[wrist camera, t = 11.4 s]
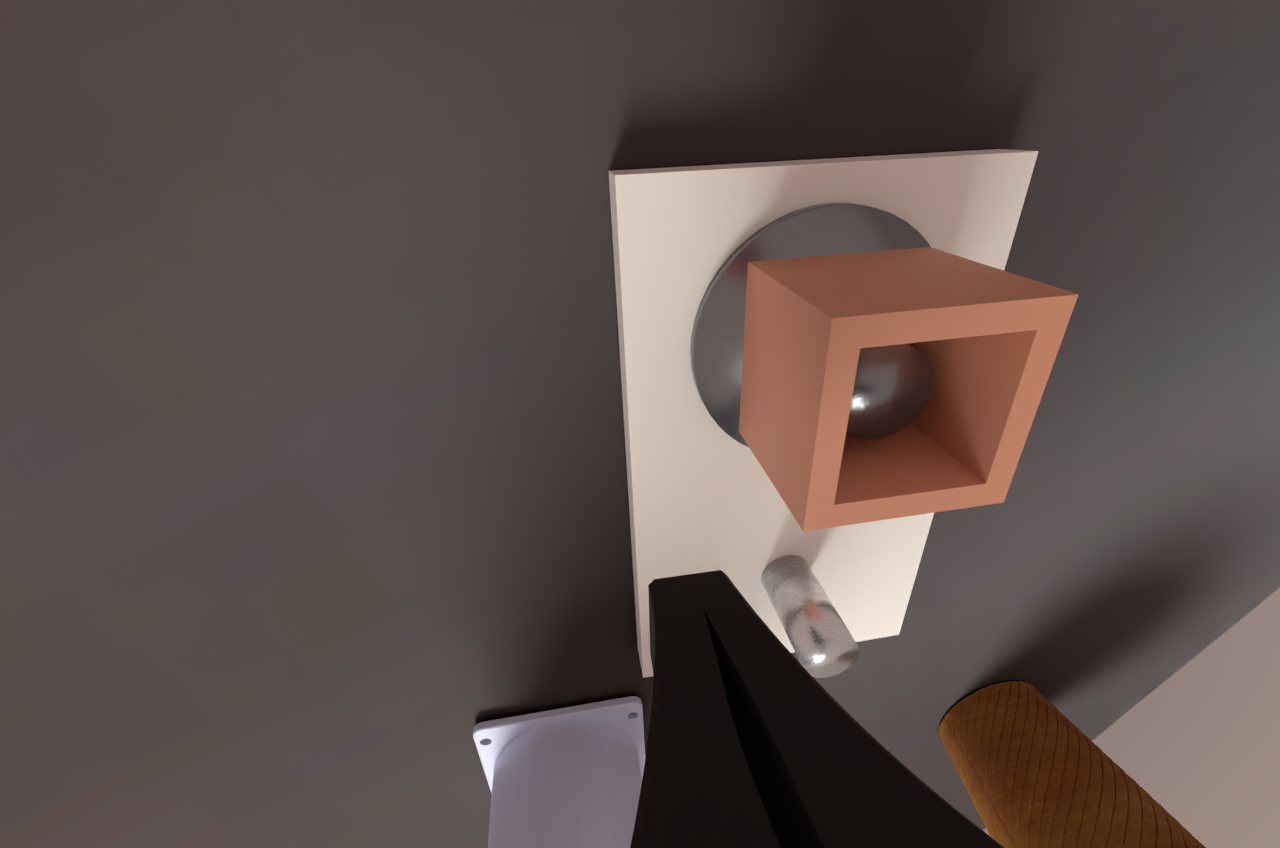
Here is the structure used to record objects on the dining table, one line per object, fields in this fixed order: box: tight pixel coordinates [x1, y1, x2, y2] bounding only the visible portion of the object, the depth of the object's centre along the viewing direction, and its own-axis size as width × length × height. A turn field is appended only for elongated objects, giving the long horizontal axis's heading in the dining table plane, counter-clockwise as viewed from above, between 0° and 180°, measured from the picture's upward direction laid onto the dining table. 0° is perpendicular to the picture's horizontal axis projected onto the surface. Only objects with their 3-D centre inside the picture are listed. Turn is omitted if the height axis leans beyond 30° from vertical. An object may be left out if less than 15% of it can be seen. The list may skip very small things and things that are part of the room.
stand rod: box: [761, 555, 859, 678], centre depth 20 cm, size 2×2×4 cm
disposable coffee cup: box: [939, 681, 1205, 848], centre depth 28 cm, size 10×10×12 cm
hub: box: [690, 203, 934, 447], centre depth 15 cm, size 8×8×4 cm
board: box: [609, 149, 1038, 678], centre depth 20 cm, size 20×12×2 cm, turn 2°
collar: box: [739, 247, 1078, 531], centre depth 14 cm, size 5×5×5 cm
